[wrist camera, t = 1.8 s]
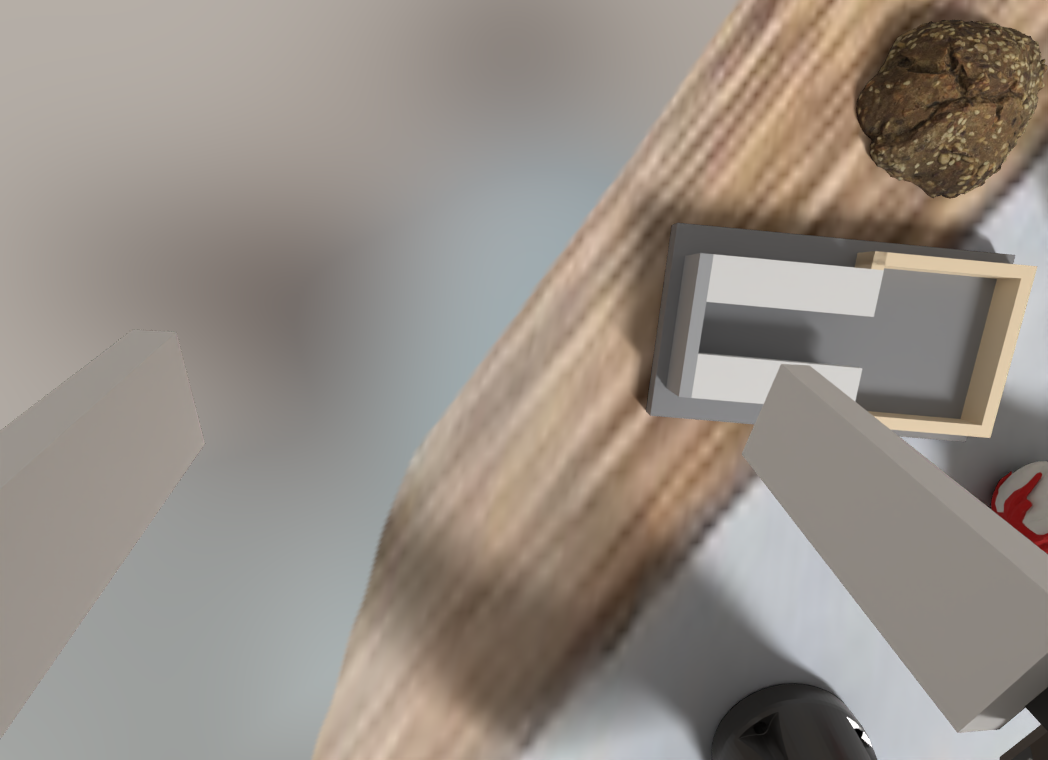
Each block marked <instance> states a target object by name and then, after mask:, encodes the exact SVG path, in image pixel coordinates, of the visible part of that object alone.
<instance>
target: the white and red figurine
mask: <svg viewBox="0 0 1048 760" xmlns="http://www.w3.org/2000/svg"><path fill="white" fill-rule="evenodd" d="M991 509H992V510H993V511H994V512H995V513H997V514H998V515H999V516H1000V517H1002V518H1003V519H1004V520H1006V521H1007V522H1008V523H1009V524H1011V525H1012V526H1013V527H1014V528H1015V529H1016V530H1018V531H1019V532H1021V533H1022V534H1023V535H1024V536H1026V537H1027V538H1028V539H1029V540H1031V541H1032V542H1033V543H1035V544H1036V545H1037V546H1038V547H1039V548H1040V549H1041V550H1043V551H1045V552H1046V553H1047V554H1048V461H1040V462H1032V463H1030V464H1028V465H1025V466H1023V467H1022V468H1020V469H1018V470H1017V471H1015V472H1014V473H1012V471H1011V472H1010V473H1008V474H1007V475H1006V476H1004V477H1003V478H1002V479H1001V480H1000V481H999V483H998V484H997V486H996V488H995V491H994V493H993V496H992V501H991Z"/></svg>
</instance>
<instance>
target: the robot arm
mask: <svg viewBox="0 0 1048 760" xmlns="http://www.w3.org/2000/svg"><path fill="white" fill-rule="evenodd" d="M204 445H205V441H204V437H203V433H202V430H201V426H200V421H199V418H198V414H197V410H196V406H195V402H194V398H193V394H192V390H191V387H190V382H189V379H188V375H187V371H186V367H185V363H184V359H183V355H182V351H181V347H180V343H179V340H178V336H177V332H172V331H171V332H170V331H153V330H131V331H130V332H129V333H127V334H126V335H125V336H124V337H122V338H121V339H120V340H118V341H117V342H116V343H114V344H113V345H112V346H110V347H109V348H108V349H106V350H105V351H104V352H103V353H101V354H100V355H99V356H97V357H96V358H95V359H93V360H92V361H91V362H89V363H88V364H87V365H86V366H84V367H83V368H82V369H80V370H79V371H78V372H76V373H75V374H74V375H72V376H71V377H70V378H68V379H67V380H66V381H64V383H62V384H61V385H59V386H58V387H57V388H55V389H54V390H53V391H51V392H50V393H49V394H47V395H46V396H45V397H44V398H42V399H41V400H40V401H38V402H37V403H36V404H34V405H33V406H32V407H30V408H29V409H28V410H27V411H25V412H24V413H23V414H21V415H20V416H19V417H17V418H16V419H15V420H13V421H12V422H11V423H10V424H8V425H7V426H5V427H4V428H3V429H2V430H0V739H1V737H2V736H3V735H4V733H5V731H6V730H7V729H8V727H9V726H10V724H11V723H12V722H13V720H14V719H15V717H16V716H17V714H18V713H19V711H20V710H21V709H22V707H23V706H24V704H25V703H26V701H27V700H28V699H29V697H30V696H31V694H32V693H33V691H34V690H35V688H36V687H37V685H38V684H39V683H40V681H41V680H42V678H43V677H44V675H45V674H46V673H47V671H48V670H49V668H50V667H51V665H52V664H53V662H54V661H55V659H56V658H57V656H58V655H59V654H60V652H61V651H62V649H63V648H64V647H65V645H66V644H67V642H68V641H69V639H70V638H71V637H72V635H73V633H74V632H75V631H76V629H77V628H78V626H79V625H80V624H81V622H82V621H83V619H84V618H85V616H86V615H87V613H88V612H89V611H90V609H91V608H92V606H93V605H94V603H95V602H96V600H97V599H98V598H99V596H100V594H101V593H102V592H103V590H104V589H105V587H106V586H107V584H108V583H109V582H110V580H111V579H112V577H113V576H114V574H115V573H116V572H117V570H118V569H119V567H120V566H121V564H122V563H123V562H124V560H125V559H126V557H127V556H128V554H129V553H130V551H131V550H132V548H133V547H134V546H135V544H136V543H137V541H138V540H139V538H140V537H141V535H142V534H143V532H144V531H145V530H146V528H147V527H148V525H149V524H150V523H151V521H152V520H153V518H154V517H155V515H156V514H157V513H158V511H159V510H160V508H161V507H162V505H163V504H164V502H165V501H166V500H167V498H168V497H169V495H170V494H171V492H172V491H173V489H174V488H175V487H176V485H177V484H178V482H179V481H180V479H181V478H182V476H183V475H184V474H185V472H186V471H187V469H188V468H189V466H190V464H191V463H192V462H193V461H194V459H195V458H196V456H197V455H198V453H199V452H200V451H201V449H202V448H203V446H204ZM742 455H743V456H744V458H745V459H746V460H747V462H748V463H749V464H750V465H751V467H752V468H753V469H754V471H755V472H756V473H757V475H758V476H759V477H760V478H761V480H762V481H763V482H764V484H765V485H766V486H767V487H768V489H769V490H770V491H771V493H772V494H773V495H774V496H775V498H776V499H777V500H778V502H779V503H780V504H781V505H782V507H783V508H784V509H785V511H786V512H787V513H788V515H789V516H790V517H791V518H792V520H793V521H794V522H795V524H796V525H797V526H798V527H799V529H800V530H801V531H802V533H803V534H804V535H805V536H806V538H807V539H808V540H809V542H810V543H811V544H812V546H813V547H814V548H815V549H816V551H817V552H818V553H819V555H820V556H821V557H822V558H823V560H824V561H825V562H826V564H827V565H828V566H829V567H830V569H831V570H832V571H833V573H834V574H835V575H836V576H837V578H838V579H839V580H840V582H841V583H842V584H843V586H844V587H845V588H846V589H847V591H848V592H849V593H850V595H851V596H852V597H853V598H854V600H855V601H856V602H857V604H858V605H859V606H860V607H861V609H862V610H863V611H864V613H865V614H866V615H867V617H868V618H869V619H870V620H871V622H872V623H873V624H874V626H875V627H876V628H877V629H878V631H879V632H880V633H881V635H882V636H883V637H884V638H885V640H886V641H887V642H888V644H889V645H890V646H891V648H892V649H893V650H894V651H895V653H896V654H897V655H898V657H899V658H900V659H901V660H902V662H903V663H904V664H905V666H906V667H907V668H908V669H909V671H910V672H911V673H912V675H913V676H914V677H915V678H916V680H917V681H918V682H919V684H920V685H921V686H922V688H923V689H924V690H925V691H926V693H927V694H928V695H929V697H930V698H931V699H932V700H933V702H934V703H935V704H936V706H937V707H938V708H939V709H940V711H941V712H942V713H943V715H944V716H945V717H946V719H947V720H948V721H949V722H950V724H951V725H952V726H953V728H954V729H955V730H956V731H957V733H964V732H975V731H986V730H997V729H1000V728H1001V727H1003V726H1004V725H1005V724H1006V723H1007V722H1009V721H1010V720H1011V719H1012V718H1013V717H1015V716H1016V715H1017V714H1018V713H1019V712H1021V711H1022V710H1023V709H1024V708H1025V707H1026V708H1027V709H1028V710H1029V711H1030V713H1031V714H1032V715H1033V716H1034V717H1035V718H1036V719H1037V720H1038V721H1039V722H1040V723H1041V725H1040V726H1039V727H1037V728H1036V729H1035V730H1034V731H1032V732H1031V733H1030V734H1029V735H1027V736H1026V737H1025V738H1023V739H1022V740H1021V741H1020V742H1018V743H1017V744H1016V745H1015V746H1013V747H1012V748H1011V749H1010V750H1008V751H1007V752H1006V753H1004V754H1003V755H1002V756H1001V757H1000V760H1048V554H1047V553H1046V552H1045V551H1043V550H1041V549H1040V548H1039V547H1038V546H1037V545H1036V544H1035V543H1033V542H1032V541H1031V540H1029V539H1028V538H1027V537H1026V536H1024V535H1023V534H1022V533H1021V532H1019V531H1018V530H1016V529H1015V528H1014V527H1013V526H1012V525H1011V524H1009V523H1008V522H1007V521H1006V520H1004V519H1003V518H1002V517H1000V516H999V515H998V514H997V513H995V512H994V511H993V510H992V509H990V508H989V507H988V506H987V505H985V504H984V503H982V502H981V501H980V500H978V499H977V498H976V497H975V496H973V495H972V494H971V493H970V492H968V491H967V490H966V489H965V488H963V487H962V486H961V485H960V484H958V483H957V482H956V481H955V480H953V479H952V478H951V477H949V476H948V475H947V474H946V473H944V472H943V471H942V470H941V469H939V468H938V467H937V466H936V465H934V464H933V463H932V462H931V461H929V460H928V459H927V458H926V457H924V456H923V455H922V454H921V453H919V452H918V451H917V450H915V449H914V448H913V447H912V446H910V445H909V444H908V443H907V442H905V441H904V440H903V439H902V438H900V437H899V436H898V435H897V434H895V433H894V432H893V431H892V430H890V429H889V428H888V427H887V426H885V425H884V424H883V423H881V422H880V421H879V420H878V419H876V418H875V417H874V416H873V415H871V414H870V413H869V412H868V411H866V410H865V409H864V408H863V407H861V406H860V405H859V404H858V403H856V402H855V401H854V400H853V399H851V398H850V397H849V396H847V395H846V394H845V393H844V392H842V391H841V390H840V389H839V388H837V387H836V386H835V385H834V384H832V383H831V382H830V381H829V380H827V379H826V378H825V377H824V376H822V375H821V374H820V373H819V372H817V371H816V370H815V369H813V368H812V367H811V366H810V365H792V364H781V365H780V368H779V370H778V372H777V374H776V377H775V379H774V381H773V384H772V386H771V388H770V390H769V393H768V395H767V397H766V400H765V402H764V404H763V407H762V409H761V411H760V413H759V416H758V418H757V420H756V423H755V425H754V427H753V429H752V432H751V434H750V436H749V439H748V441H747V443H746V446H745V448H744V450H743V452H742ZM712 760H877V757H876V755H875V752H874V750H873V748H872V745H871V742H870V740H869V738H868V735H867V734H866V732H865V730H864V728H863V727H862V725H861V724H860V723H859V721H858V720H857V719H856V718H855V716H854V715H853V714H852V712H851V711H850V710H849V709H848V707H847V706H846V705H845V704H844V703H843V702H842V701H841V700H840V699H838V698H837V697H836V696H834V695H833V694H831V693H829V692H827V691H825V690H823V689H820V688H817V687H814V686H809V685H803V684H784V685H777V686H773V687H769V688H766V689H763V690H760V691H758V692H755V693H753V694H751V695H750V696H748V697H746V698H745V699H743V700H742V701H740V702H739V703H738V704H737V705H735V706H734V707H733V708H732V709H731V710H730V711H729V712H728V713H727V715H726V716H725V717H724V719H723V720H722V721H721V723H720V725H719V727H718V729H717V731H716V733H715V736H714V740H713V744H712Z"/></svg>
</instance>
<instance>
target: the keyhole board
mask: <svg viewBox="0 0 1048 760" xmlns="http://www.w3.org/2000/svg"><path fill="white" fill-rule="evenodd" d="M1014 258H1015V255H1009V254H999V253H988V252H978V251H967V250H957V249H946V248H936V247H926V246H915V245H905V244H894V243H884V242H873V241H863V240H852V239H842V238H831V237H821V236H810V235H800V234H789V233H779V232H768V231H758V230H747V229H737V228H726V227H716V226H705V225H695V224H684V223H676V224H673V225H672V227H671V235H670V242H669V249H668V256H667V263H666V271H665V278H664V285H663V292H662V299H661V307H660V314H659V321H658V328H657V335H656V343H655V350H654V357H653V364H652V371H651V379H650V386H649V393H648V400H647V407H646V412H647V413H648V414H649V415H651V416H663V417H675V418H686V419H698V420H710V421H722V422H734V423H746V424H755V423H756V420H757V418H758V416H759V413H760V411H761V409H762V407H763V404H764V402H765V400H766V397H767V395H768V393H769V390H770V388H771V386H772V384H773V381H774V379H775V377H776V374H777V372H778V370H779V368H780V365H781V364H792V365H810V366H811V367H812V368H813V369H815V370H816V371H817V372H819V373H820V374H821V375H822V376H824V377H825V378H826V379H827V380H829V381H830V382H831V383H832V384H834V385H835V386H836V387H837V388H839V389H840V390H841V391H842V392H844V393H845V394H846V395H847V396H849V397H850V398H851V399H853V400H854V401H855V402H856V403H858V404H859V405H860V406H861V407H863V408H864V409H865V410H866V411H868V412H869V413H870V414H871V415H873V416H874V417H875V418H876V419H878V420H879V421H880V422H881V423H883V424H884V425H885V426H887V427H888V428H889V429H890V430H892V431H893V432H894V433H895V434H897V435H898V436H901V437H912V438H924V439H936V440H948V441H960V442H966V439H967V436H973V437H985V438H990V437H991V433H992V430H993V426H994V422H995V419H996V415H997V412H998V408H999V404H1000V401H1001V397H1002V393H1003V390H1004V386H1005V382H1006V379H1007V375H1008V371H1009V368H1010V364H1011V360H1012V357H1013V353H1014V350H1015V346H1016V342H1017V339H1018V335H1019V331H1020V328H1021V324H1022V320H1023V317H1024V313H1025V309H1026V306H1027V302H1028V298H1029V295H1030V291H1031V288H1032V284H1033V280H1034V277H1035V273H1036V269H1037V266H1026V265H1016V264H1013V262H1014Z"/></svg>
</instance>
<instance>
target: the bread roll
mask: <svg viewBox="0 0 1048 760" xmlns="http://www.w3.org/2000/svg"><path fill="white" fill-rule="evenodd" d="M1044 63H1045V59H1043V60H1041V52H1040V50H1039V45H1038V42H1035V41H1033V40H1032V38H1031V36H1026V35H1025V34H1022V33H1021V32H1019V31H1017V30H1016V29H1012V28H1007V27H1000V25H998V24H988V23H985V24H983V23H982V21H977V22H973V21H970V22H964V21H962V20H950V21H949V20H947V21H946V20H942V21H939V22H935V23H933V22H929V23H928V24H922V25H920V26H919V27H918V28H916V29H913V30H911V31H908V32H906V33H905V34H903V35H901V36H900V37H898V38H897V39H896V41H895V43H894V45H893V47H892V48H891V50H890V52H889V55H888V57H887V59H886V61H885V63H884V65H883V66H882V67H881V68H880V70H879V72H878V74H877V76H875V77H874V78H873V79H872V80H871V81H869V82H868V83H867V85H866V87H865V88H864V90H863V91H862V93H861V95H860V96H859V98H858V101H857V114H858V120H859V123H860V126H861V128H862V130H863V132H864V133H865V134H866V135H867V136H868V137H870V138H871V139H872V144H871V145H870V148H871V151H870V153H871V156H872V159H873V161H874V162H875V163H876V164H877V166H878V167H881V168H883V169H885V170H886V171H887V173H888V174H889V175H890V176H891V177H894V178H897V179H898V180H899V181H900V180H905V181H909V182H912V183H914V184H915V185H917V186H919V187H920V188H922V190H923V191H924V192H925V193H926V194H927V195H929V196H930V197H932V198H934V197H936V196H940V195H942V196H944V197H946V198H956V197H957V196H958V195H960V194H966V193H967V192H969V191H971V190H973V189H974V188H976V187H979V186H982V185H983V184H984V183H985V180H986V179H988V178H989V177H990V176H992V174H994V173H997V172H998V171H999V170H1000V169H1001V165H1002V163H1003V162H1005V161H1006V157H1007V156H1008V155H1009V153H1010V152H1011V151H1012V149H1013V148H1014V147H1015V146H1016V145H1017V139H1018V138H1019V137H1021V136H1022V134H1023V133H1024V132H1025V131H1026V130H1025V128H1026V127H1027V125H1028V120H1029V119H1031V117H1032V115H1033V114H1034V111H1035V109H1036V106H1037V102H1038V97H1037V93H1038V91H1039V90H1040V89H1042V88H1043V87H1044V86H1045V85H1044V83H1043V81H1042V78H1043V77H1044V76H1043V74H1044V73H1045V72H1046V70H1047V65H1045V64H1044Z"/></svg>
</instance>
